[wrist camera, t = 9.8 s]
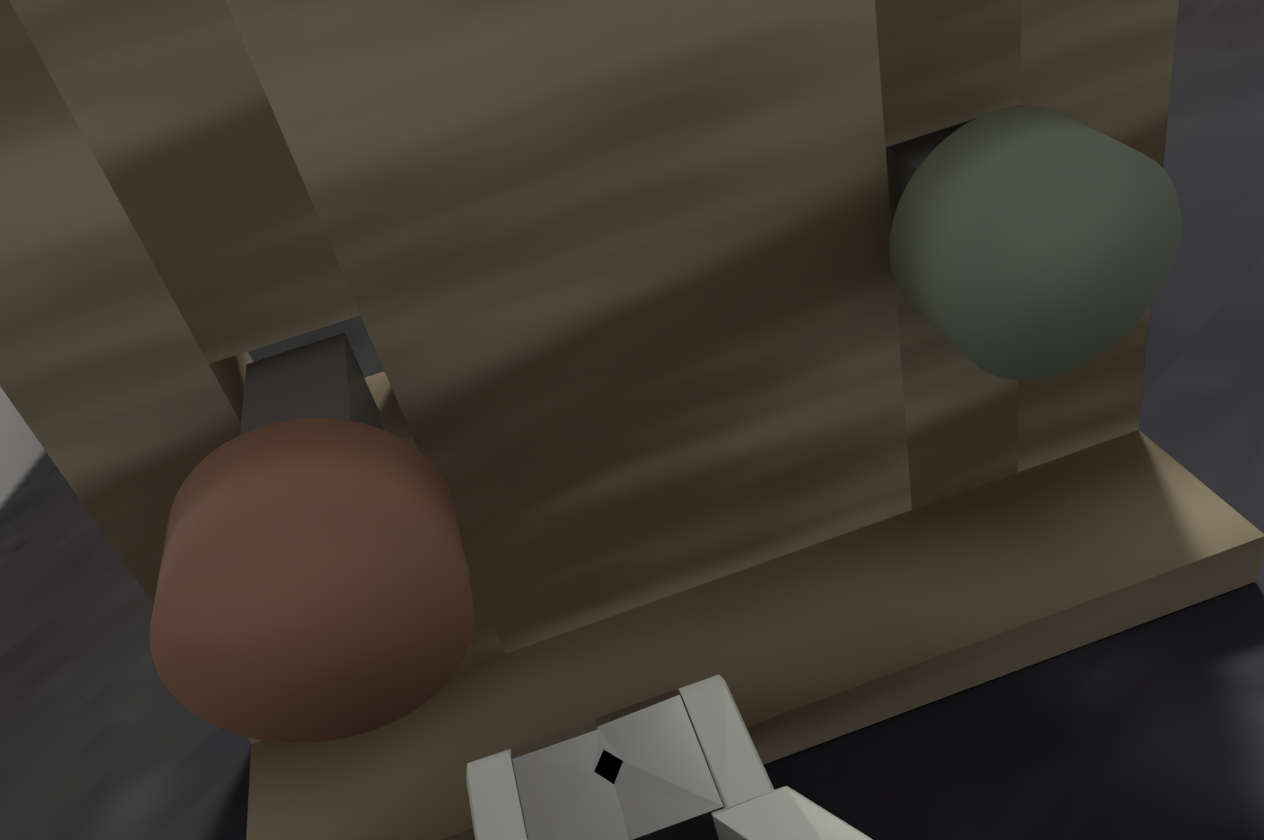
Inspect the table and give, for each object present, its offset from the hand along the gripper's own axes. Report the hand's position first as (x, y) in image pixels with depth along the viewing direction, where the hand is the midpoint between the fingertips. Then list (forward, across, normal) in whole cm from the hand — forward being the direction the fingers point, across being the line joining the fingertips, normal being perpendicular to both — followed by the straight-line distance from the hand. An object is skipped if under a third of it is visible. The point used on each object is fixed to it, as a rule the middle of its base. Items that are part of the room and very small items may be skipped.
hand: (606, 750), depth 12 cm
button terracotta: (+8, +4, +3) cm, 9 cm away
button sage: (+11, -10, +3) cm, 15 cm away
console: (+12, -4, +11) cm, 16 cm away
